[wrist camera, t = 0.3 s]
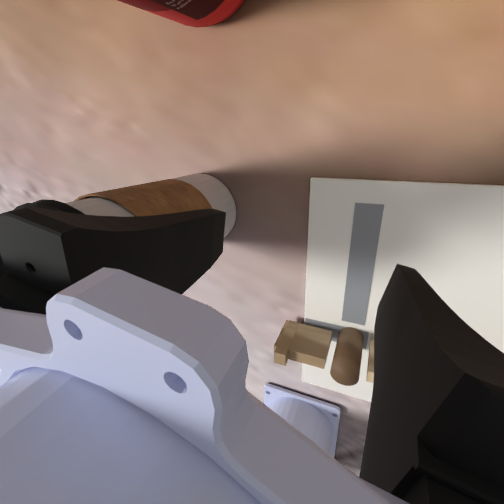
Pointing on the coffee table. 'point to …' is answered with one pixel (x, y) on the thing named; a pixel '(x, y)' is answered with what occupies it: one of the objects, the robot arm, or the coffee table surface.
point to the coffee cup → (151, 200)
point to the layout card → (400, 257)
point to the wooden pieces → (321, 350)
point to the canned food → (190, 10)
